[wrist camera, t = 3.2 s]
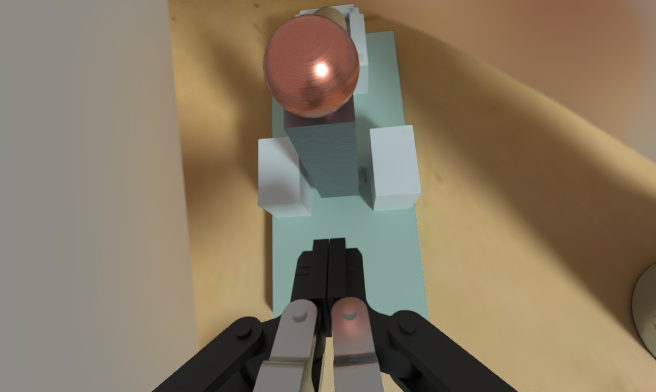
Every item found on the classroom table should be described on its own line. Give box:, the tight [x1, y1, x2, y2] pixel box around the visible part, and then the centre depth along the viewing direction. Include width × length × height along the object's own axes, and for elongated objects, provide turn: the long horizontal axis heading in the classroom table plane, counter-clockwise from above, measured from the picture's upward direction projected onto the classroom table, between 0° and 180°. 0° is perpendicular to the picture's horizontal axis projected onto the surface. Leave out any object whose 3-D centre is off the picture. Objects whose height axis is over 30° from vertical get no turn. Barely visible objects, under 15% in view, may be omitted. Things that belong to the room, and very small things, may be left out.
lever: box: [263, 14, 367, 198], centre depth 18 cm, size 4×4×16 cm
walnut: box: [313, 7, 347, 30], centre depth 24 cm, size 3×3×3 cm
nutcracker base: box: [258, 4, 429, 319], centre depth 26 cm, size 12×26×7 cm, turn 3°
